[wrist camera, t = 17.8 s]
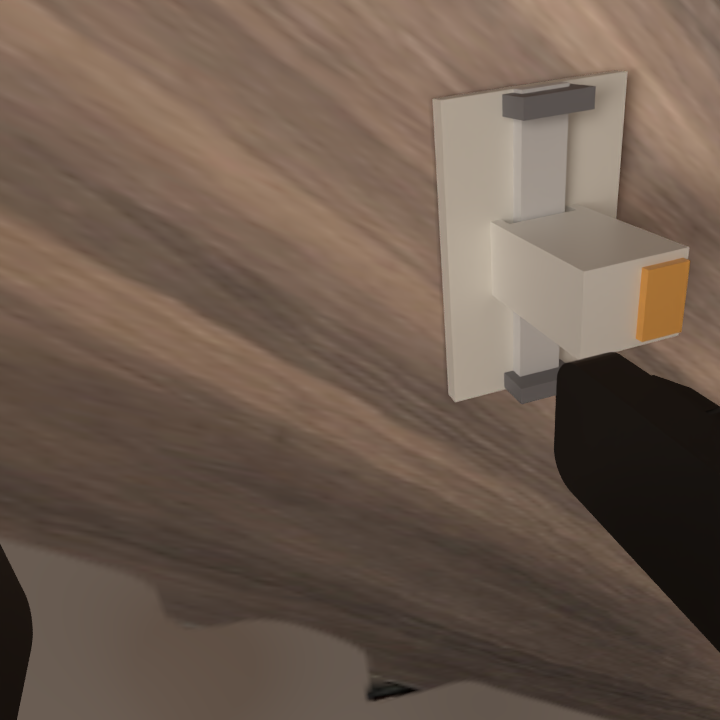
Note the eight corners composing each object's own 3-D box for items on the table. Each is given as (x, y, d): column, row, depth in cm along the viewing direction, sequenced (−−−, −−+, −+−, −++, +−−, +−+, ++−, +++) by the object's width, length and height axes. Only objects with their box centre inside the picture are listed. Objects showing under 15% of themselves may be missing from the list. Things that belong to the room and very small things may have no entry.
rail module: (490, 221, 40) (589, 274, 31) (575, 203, 41) (696, 249, 32) (492, 295, 43) (585, 365, 33) (573, 276, 44) (685, 338, 35)
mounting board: (432, 98, 37) (458, 104, 34) (615, 70, 40) (655, 72, 36) (448, 394, 47) (470, 419, 43) (595, 357, 49) (626, 379, 46)
